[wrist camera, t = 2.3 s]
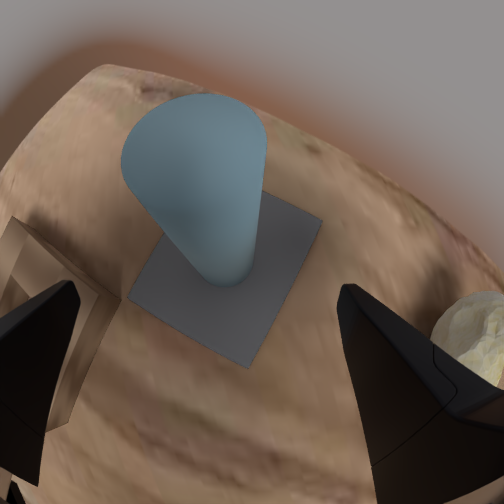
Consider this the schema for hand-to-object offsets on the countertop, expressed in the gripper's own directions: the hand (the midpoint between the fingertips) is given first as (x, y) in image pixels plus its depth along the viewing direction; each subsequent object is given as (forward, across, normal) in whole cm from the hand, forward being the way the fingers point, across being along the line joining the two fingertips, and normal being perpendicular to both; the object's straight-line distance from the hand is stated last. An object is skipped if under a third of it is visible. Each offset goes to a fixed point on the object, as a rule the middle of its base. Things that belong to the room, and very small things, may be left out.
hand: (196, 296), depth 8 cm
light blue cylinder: (+10, 0, +5) cm, 11 cm away
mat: (+10, 0, +5) cm, 12 cm away
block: (+6, +17, +9) cm, 20 cm away
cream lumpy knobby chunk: (+2, -17, +14) cm, 22 cm away
